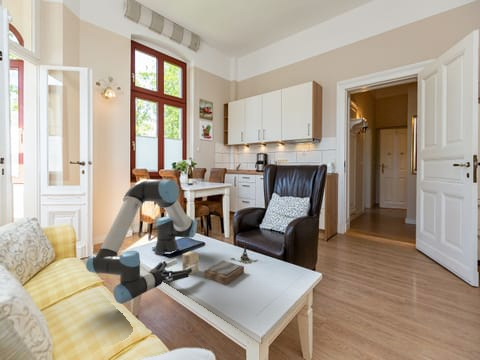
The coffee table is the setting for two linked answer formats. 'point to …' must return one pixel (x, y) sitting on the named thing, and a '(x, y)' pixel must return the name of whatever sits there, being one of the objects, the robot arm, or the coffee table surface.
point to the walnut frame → (224, 272)
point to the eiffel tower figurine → (244, 257)
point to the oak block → (190, 261)
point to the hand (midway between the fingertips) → (185, 264)
